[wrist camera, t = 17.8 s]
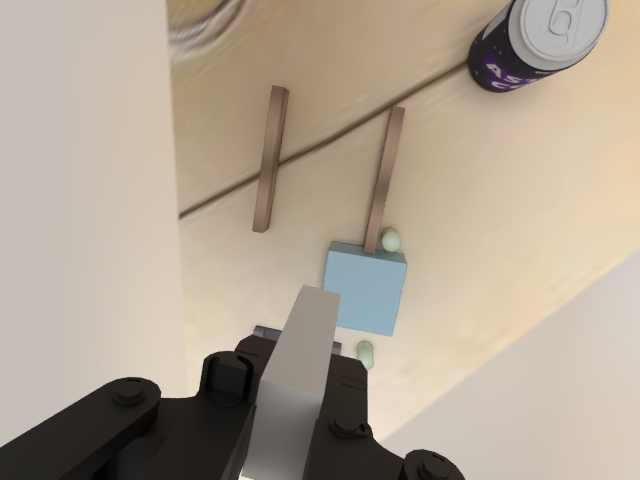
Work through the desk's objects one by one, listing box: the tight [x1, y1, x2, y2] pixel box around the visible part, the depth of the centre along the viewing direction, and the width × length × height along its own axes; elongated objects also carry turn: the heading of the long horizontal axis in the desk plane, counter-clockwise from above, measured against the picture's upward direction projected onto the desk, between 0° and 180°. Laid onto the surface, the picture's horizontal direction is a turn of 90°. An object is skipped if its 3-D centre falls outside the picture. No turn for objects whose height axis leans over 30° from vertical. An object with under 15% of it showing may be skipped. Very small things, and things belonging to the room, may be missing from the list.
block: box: [323, 242, 407, 336], centre depth 40 cm, size 7×7×4 cm
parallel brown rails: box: [252, 86, 405, 255], centre depth 38 cm, size 13×12×2 cm
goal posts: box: [357, 228, 401, 370], centre depth 40 cm, size 14×2×3 cm, turn 170°
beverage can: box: [469, 0, 609, 93], centre depth 30 cm, size 6×6×12 cm
